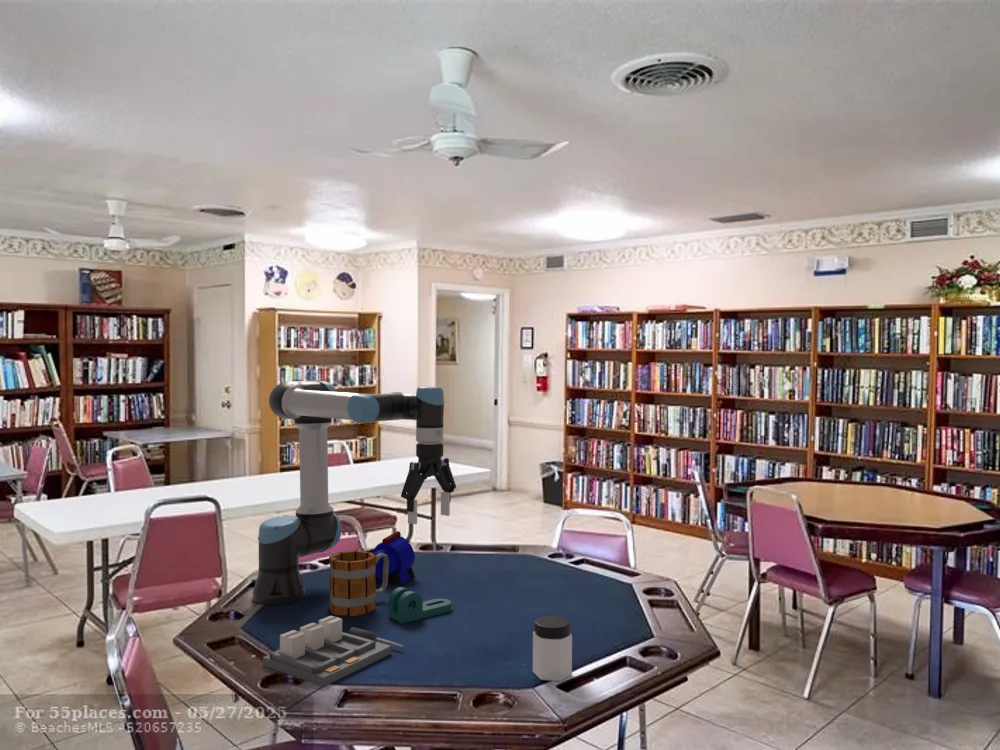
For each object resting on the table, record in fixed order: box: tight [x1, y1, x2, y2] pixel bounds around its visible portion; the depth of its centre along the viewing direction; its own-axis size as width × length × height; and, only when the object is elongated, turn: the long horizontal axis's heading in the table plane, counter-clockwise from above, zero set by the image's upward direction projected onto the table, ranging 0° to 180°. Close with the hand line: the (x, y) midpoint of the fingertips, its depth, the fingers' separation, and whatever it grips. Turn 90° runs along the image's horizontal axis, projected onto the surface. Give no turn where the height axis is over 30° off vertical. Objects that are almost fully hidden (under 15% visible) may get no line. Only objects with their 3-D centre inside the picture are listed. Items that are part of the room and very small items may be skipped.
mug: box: [328, 550, 389, 617], centre depth 216 cm, size 20×14×15 cm
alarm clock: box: [372, 530, 416, 586], centre depth 243 cm, size 12×12×15 cm
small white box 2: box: [318, 615, 343, 642], centre depth 184 cm, size 4×4×5 cm
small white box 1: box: [279, 629, 305, 659], centre depth 174 cm, size 4×4×5 cm
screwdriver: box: [348, 626, 404, 648], centre depth 188 cm, size 17×2×2 cm, turn 57°
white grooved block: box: [299, 622, 324, 650], centre depth 179 cm, size 4×4×5 cm
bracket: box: [388, 586, 452, 625], centre depth 210 cm, size 18×7×8 cm, turn 129°
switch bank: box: [262, 631, 392, 688], centre depth 177 cm, size 20×22×3 cm
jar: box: [532, 615, 573, 682], centre depth 170 cm, size 9×8×12 cm
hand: (429, 519), depth 206 cm, fingers open, 13 cm apart
